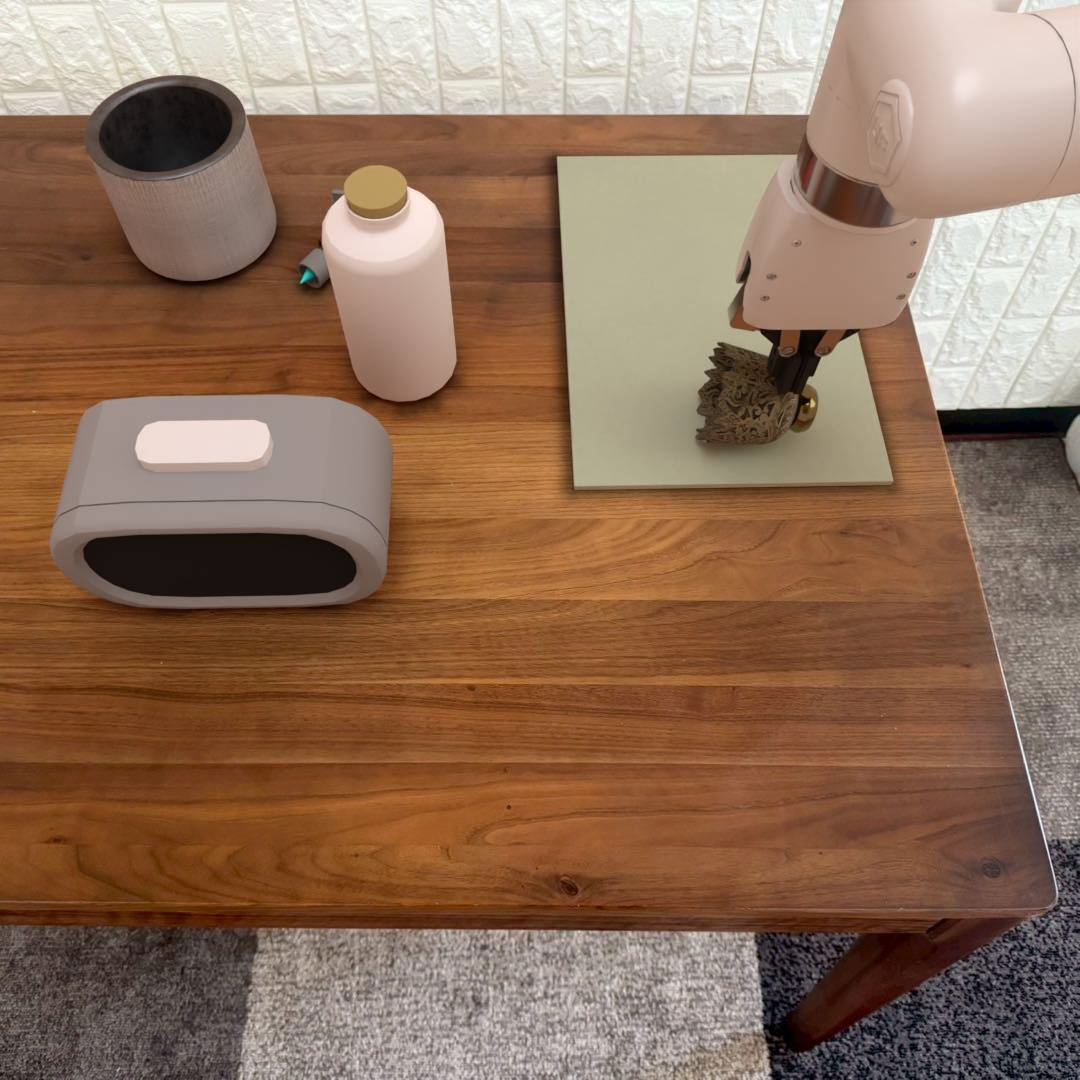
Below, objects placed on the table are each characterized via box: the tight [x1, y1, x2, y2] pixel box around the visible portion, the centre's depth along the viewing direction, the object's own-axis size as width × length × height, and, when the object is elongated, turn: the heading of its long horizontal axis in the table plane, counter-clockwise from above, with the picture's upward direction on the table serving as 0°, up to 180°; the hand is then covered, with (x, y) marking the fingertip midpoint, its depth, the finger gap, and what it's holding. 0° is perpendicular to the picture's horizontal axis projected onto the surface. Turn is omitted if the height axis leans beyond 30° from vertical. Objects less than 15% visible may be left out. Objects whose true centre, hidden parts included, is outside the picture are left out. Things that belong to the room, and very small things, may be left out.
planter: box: [83, 74, 277, 282], centre depth 79 cm, size 13×12×11 cm
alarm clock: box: [48, 394, 394, 610], centre depth 63 cm, size 21×10×13 cm, turn 91°
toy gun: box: [296, 188, 344, 289], centre depth 80 cm, size 10×12×5 cm
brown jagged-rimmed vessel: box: [695, 342, 818, 445], centre depth 71 cm, size 8×7×8 cm
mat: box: [556, 154, 894, 491], centre depth 80 cm, size 36×24×1 cm, turn 2°
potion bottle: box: [321, 164, 457, 403], centre depth 69 cm, size 8×8×18 cm
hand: (786, 378), depth 68 cm, fingers closed
